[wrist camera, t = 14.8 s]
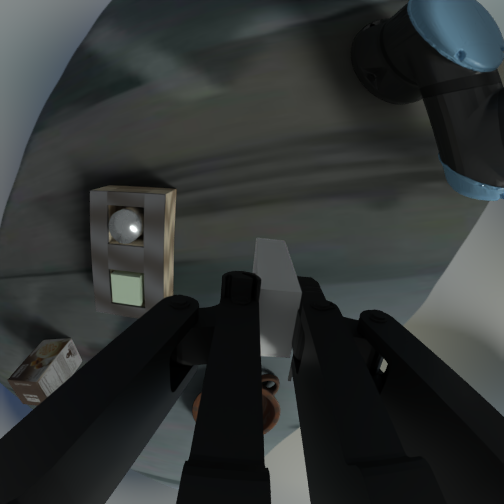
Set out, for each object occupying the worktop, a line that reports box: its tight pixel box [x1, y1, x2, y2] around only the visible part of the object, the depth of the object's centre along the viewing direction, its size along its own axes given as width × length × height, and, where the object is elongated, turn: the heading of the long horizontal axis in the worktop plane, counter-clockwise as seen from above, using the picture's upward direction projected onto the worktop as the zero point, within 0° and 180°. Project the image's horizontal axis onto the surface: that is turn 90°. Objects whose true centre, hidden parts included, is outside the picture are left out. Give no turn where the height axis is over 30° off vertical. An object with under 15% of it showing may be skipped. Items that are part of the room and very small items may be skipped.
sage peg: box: [111, 270, 145, 306], centre depth 51 cm, size 5×5×7 cm
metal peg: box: [109, 206, 144, 244], centre depth 48 cm, size 5×5×7 cm
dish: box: [192, 374, 280, 435], centre depth 61 cm, size 18×22×5 cm
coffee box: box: [8, 338, 82, 405], centre depth 53 cm, size 9×6×16 cm
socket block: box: [90, 185, 176, 318], centre depth 50 cm, size 20×12×7 cm, turn 174°
